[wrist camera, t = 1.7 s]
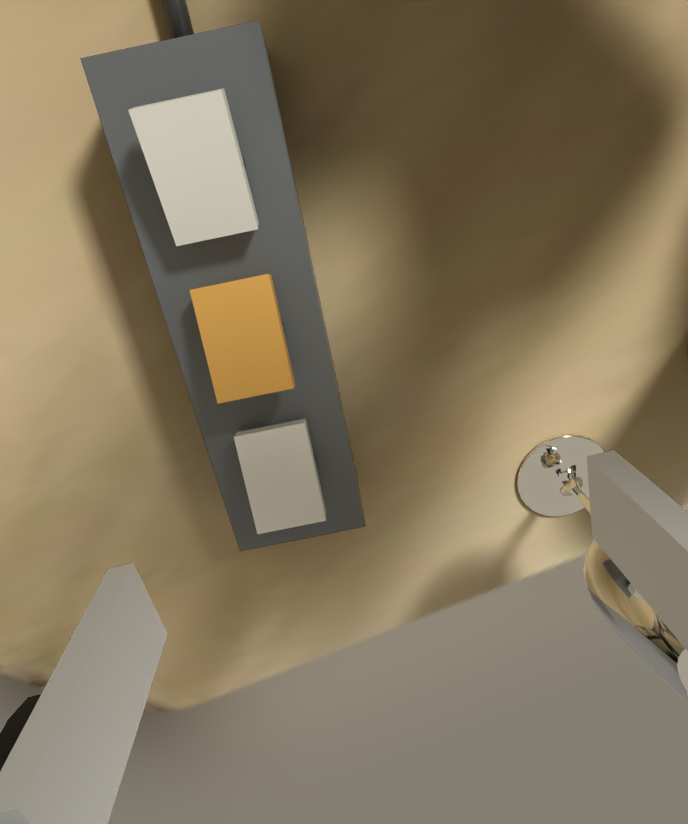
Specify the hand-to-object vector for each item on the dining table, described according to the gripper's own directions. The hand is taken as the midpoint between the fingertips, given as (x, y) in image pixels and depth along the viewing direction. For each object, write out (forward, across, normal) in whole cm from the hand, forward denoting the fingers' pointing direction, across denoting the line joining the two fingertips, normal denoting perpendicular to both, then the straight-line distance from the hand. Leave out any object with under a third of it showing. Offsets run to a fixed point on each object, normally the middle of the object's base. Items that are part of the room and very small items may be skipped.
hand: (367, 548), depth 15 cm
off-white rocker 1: (+18, -4, +12) cm, 22 cm away
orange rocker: (+18, -5, +3) cm, 19 cm away
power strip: (+25, -5, +6) cm, 26 cm away
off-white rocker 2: (+18, -5, -6) cm, 19 cm away
